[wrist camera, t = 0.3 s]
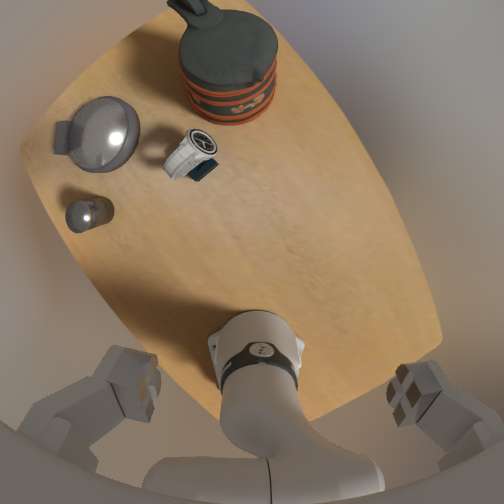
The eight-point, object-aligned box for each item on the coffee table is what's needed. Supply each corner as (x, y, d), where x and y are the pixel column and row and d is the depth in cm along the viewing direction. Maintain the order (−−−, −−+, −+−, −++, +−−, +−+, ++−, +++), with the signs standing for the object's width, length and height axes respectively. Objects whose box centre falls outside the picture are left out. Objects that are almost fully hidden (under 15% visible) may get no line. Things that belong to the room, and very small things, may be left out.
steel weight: (114, 224, 45) (89, 233, 37) (92, 224, 45) (65, 232, 36) (114, 196, 44) (89, 200, 35) (92, 197, 44) (64, 201, 35)
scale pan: (125, 167, 39) (123, 166, 39) (67, 170, 39) (65, 170, 38) (133, 94, 36) (131, 93, 36) (74, 104, 36) (72, 103, 35)
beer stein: (159, 71, 39) (114, 18, 19) (224, 26, 37) (214, -42, 17) (223, 143, 42) (206, 113, 23) (292, 93, 40) (321, 40, 21)
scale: (137, 171, 43) (125, 170, 38) (66, 175, 43) (51, 175, 38) (144, 96, 40) (134, 88, 35) (73, 107, 39) (59, 102, 34)
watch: (227, 157, 43) (221, 148, 32) (190, 188, 44) (173, 190, 33) (206, 132, 42) (194, 117, 31) (170, 163, 43) (147, 158, 32)
